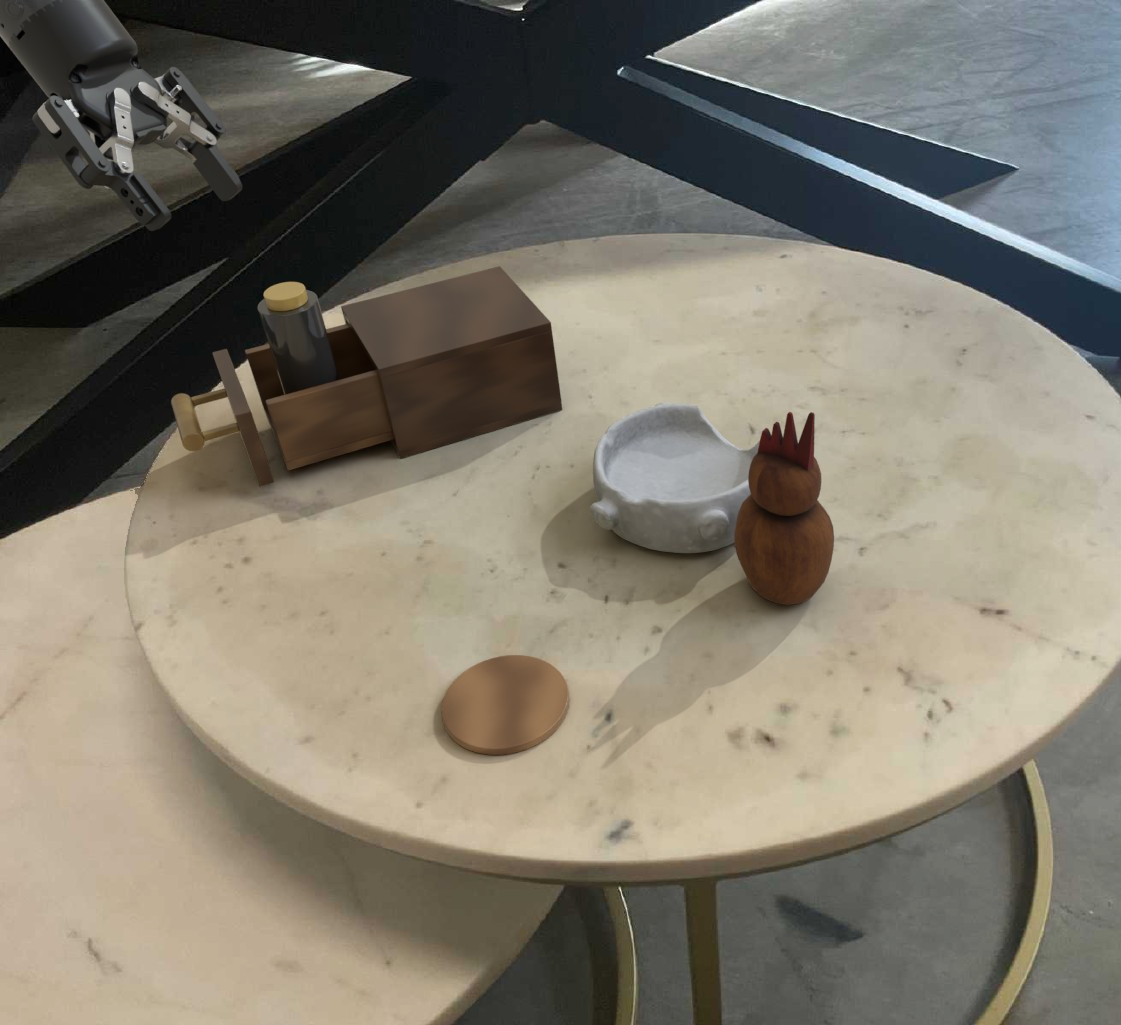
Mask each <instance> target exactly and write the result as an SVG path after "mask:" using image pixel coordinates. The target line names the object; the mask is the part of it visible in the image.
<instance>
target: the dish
mask: <svg viewBox="0 0 1121 1025" xmlns="http://www.w3.org/2000/svg"><path fill="white" fill-rule="evenodd" d="M759 443H760V440H759V441H758V442H756V444H755V445H754V446H752V447H751V448H749V449H748V448H747V449H743V448H739V447H738V446H736V445H734V444H733V443H731V441H728V439H727V438H725V437H724V436H723V435H722V434H721V433H720V431H718V429H717V428H716V427H715V426H714V425H713V424H712V423H711V421H709V420H708V418H707V417H706V416H705V414H704V412H702V410H701V408H700V407H699V406H697V405H695V404H691V403H674V402H668V401H663V402H659V403H657V404H654V406H649V407H645V408H642V409H639V410H637V411H634V412H632V413H629V414H628V415H626V416H624V417H622V418H620V419H618V420H616V421H615V422H613V423H612V424H611V425H609V427H608V428H607V429H606V431H605V432H604V434H603V435H602V436H601V437H600V438H599V439H598V441H597V444H596V446H595V449H594V453H593V461H592V478H593V480H592V481H593V487H594V494H595V499H596V501H595V502H593V503H592V504H591V505H590V507H589V509H590V513H591V516H592V519H593V520H594V521H595V522H596V524H597V525H598V526H599V527H600V528H602V529H604V530H607V531H609V530H610V531H613V532H614V533H615V534H616V535H618V537H620V538H621V539H623V540H625V541H627V542H629V543H631V544H634V545H637V546H639V547H642V548H647V549H649V550H654V551H658V552H659V551H660V552H666V553H674V554H675V553H676V554H677V553H678V554H697V553H706V552H711V551H716V550H719V549H722V548H725V547H728V546H730V545H732V544H735V540H734V534H735V528H736V522H737V517H738V512H739V510H740V507H741V505H742V503H743V502H744V500H745V499H746V498H747V497H748V496H749V495H750V494H751V492H750V489H749V483H748V475H749V469H750V464H751V462H752V459H753V457H754V456H755V455H756V454H757V453H758V448H759Z"/></svg>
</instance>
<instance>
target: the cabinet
mask: <svg viewBox="0 0 1121 1025" xmlns="http://www.w3.org/2000/svg"><path fill="white" fill-rule="evenodd" d="M340 308H341V312H342V315H343V320H344V324H348V323H349V325H350V327H351V328H352V330H353V332H354V334H355V335H356V337H357V339H358V340H359V342H360V344H361V345H362V347H363V349H364V351H365V352H366V354H367V356H368V357H369V359H370V361H371V362H372V364H373V366H374V367H375V369H376V371H377V373H378V376H379V380H380V384H381V388H382V392H383V396H384V400H385V404H386V408H387V412H388V416H389V420H390V424H391V429H392V433H393V437H394V439H393V440H389V441H390V442H391V444H392V446H393V448H394V450H395V452H396V454H397V455H398V458H399V459H405V458H408V457H411V456H415V455H417V454H421V453H424V452H428V451H431V450H435V449H438V448H441V447H444V446H447V445H451V444H454V443H458V442H461V441H463V440H467V439H470V438H474V437H477V436H480V435H483V434H487V433H490V432H494V431H497V430H500V429H503V428H507V427H510V426H513V425H516V424H520V423H523V422H526V421H530V420H533V419H537V418H539V417H543V416H546V415H549V414H553V413H557V412H560V411H563V404H562V395H561V388H560V387H561V386H560V380H559V372H558V367H557V366H558V365H557V358H556V357H557V356H556V350H555V344H554V335H553V328H552V322H551V320H550V319H549V318H547V316H546V315H545V314H544V313H543V312H542V311H541V310H540V309H539V308H538V306H537V305H536V304H535V303H534V302H533V301H532V300H531V299H530V297H529V296H528V295H527V294H526V293H525V292H524V291H523V290H522V289H521V288H520V286H519V285H517V283H516V282H515V281H514V280H513V279H512V278H511V277H510V275H509V274H508V273H507V272H506V271H505V270H504V269H503V268H502V266H500V265H499V266H494V267H492V268H487V269H483V270H479V271H476V272H471V273H468V274H463V275H460V276H454V277H451V278H447V279H443V280H440V281H435V282H431V283H428V284H424V285H420V286H416V287H412V288H408V289H404V290H399V291H395V292H392V293H388V294H384V295H380V296H376V297H373V298H367V299H364V300H359V301H356V302H352V303H349V304H344V305H341V306H340Z"/></svg>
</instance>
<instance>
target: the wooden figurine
mask: <svg viewBox="0 0 1121 1025" xmlns="http://www.w3.org/2000/svg"><path fill="white" fill-rule="evenodd" d="M815 416H816V414H815V413H814V412H812V411H810V412H809V413H808V415H807V418H806V421H805V423H804V426H803V429H802V432H801V434H800V437H799V440H798V436H797V429H796V423H795V418H794V414H793V412H791V411H789V412H787V414H786V419H785V424H784V430H783V431H782V428H781V423H780V422H779V421H775V422H774V423H773V424H772V429H771V432H770V429H769V428H768V427H765V428H764V429H763V430H762V431H761V435H760V438H759V441H760V443H759V448H758V453H757V454H756V455H755V456H754V457H753V459H752V462H751V464H750V469H749V475H748V483H749V489H750V492H751V494H750V495H749V496H748V497H747V498H746V499H745V500H744V502H743V503H742V505H741V507H740V510H739V512H738V517H737V522H736V528H735V534H734V540H735V542H734V550H735V553H736V557H737V559H738V562H739V563H740V565H741V568H742V570H743V572H744V574H745V576H746V578H747V581H748V582H749V585H750V587H751V588H752V589H753V590H754V591H755V592H756V593H757V594H758V595H759V596H761V597H763V599H765V600H768V601H770V602H773V603H775V604H778V605H787V606H790V605H796V604H800V603H803V602H805V601H806V602H807V601H808V600H810V599H811V598H813V597H814V595H815V594H816V593H817V591H818V590H820V588H821V587H822V586H823V584H824V583H825V582H826V579H827V577H828V574H829V572H830V567H831V564H832V559H833V555H834V554H833V553H834V546H835V533H834V532H835V530H834V525H833V523H832V519H831V516H830V515H829V513H828V512H827V511H826V509H825V507H824V506H823V505H822V503H820V501H819V500H818V499H819V497H820V493H821V489H822V472H821V468H820V464H819V462H818V460H817V458H816V457H815Z"/></svg>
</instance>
